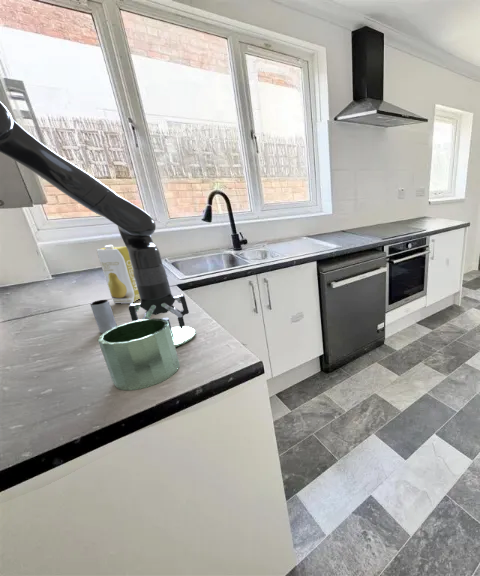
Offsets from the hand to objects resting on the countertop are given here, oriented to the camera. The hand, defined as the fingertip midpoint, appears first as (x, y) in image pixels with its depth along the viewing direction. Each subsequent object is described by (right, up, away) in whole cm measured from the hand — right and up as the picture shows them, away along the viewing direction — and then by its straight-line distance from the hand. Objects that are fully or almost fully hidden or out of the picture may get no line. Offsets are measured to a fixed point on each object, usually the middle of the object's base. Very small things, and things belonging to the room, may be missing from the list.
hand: (166, 331), depth 95 cm
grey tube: (-25, -1, +9) cm, 27 cm away
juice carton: (-40, +8, +35) cm, 53 cm away
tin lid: (0, -3, +1) cm, 3 cm away
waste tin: (+7, -9, -15) cm, 19 cm away
